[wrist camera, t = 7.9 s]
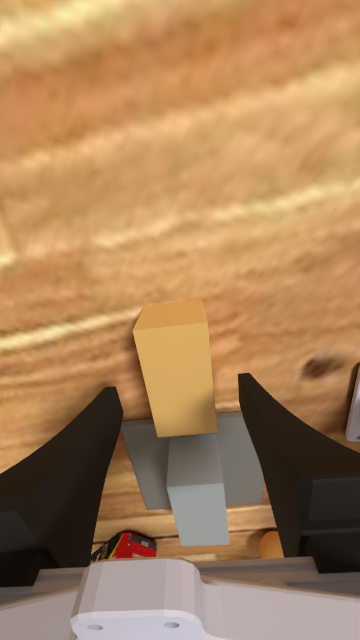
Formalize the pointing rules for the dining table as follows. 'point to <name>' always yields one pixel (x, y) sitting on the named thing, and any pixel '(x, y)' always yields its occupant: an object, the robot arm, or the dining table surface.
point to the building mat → (234, 455)
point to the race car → (125, 548)
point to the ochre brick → (177, 367)
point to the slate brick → (197, 490)
